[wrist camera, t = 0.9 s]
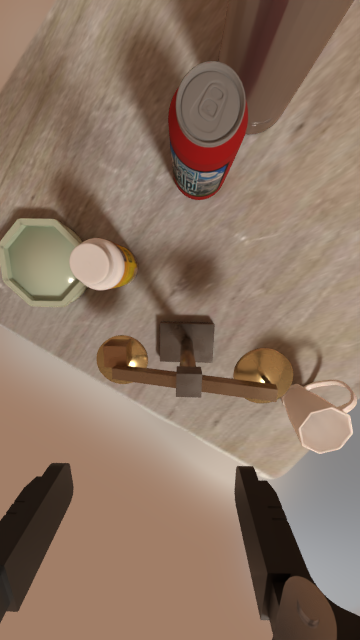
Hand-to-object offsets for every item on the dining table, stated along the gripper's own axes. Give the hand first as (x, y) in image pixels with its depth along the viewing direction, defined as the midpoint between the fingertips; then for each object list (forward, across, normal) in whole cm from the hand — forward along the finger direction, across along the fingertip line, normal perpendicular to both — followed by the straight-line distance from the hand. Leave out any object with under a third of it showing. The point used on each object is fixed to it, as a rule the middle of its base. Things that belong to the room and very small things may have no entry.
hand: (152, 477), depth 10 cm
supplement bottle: (+24, +8, -10) cm, 27 cm away
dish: (+23, +18, -10) cm, 31 cm away
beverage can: (+24, -4, -22) cm, 32 cm away
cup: (+23, -21, +10) cm, 33 cm away
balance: (+23, -2, +1) cm, 23 cm away
